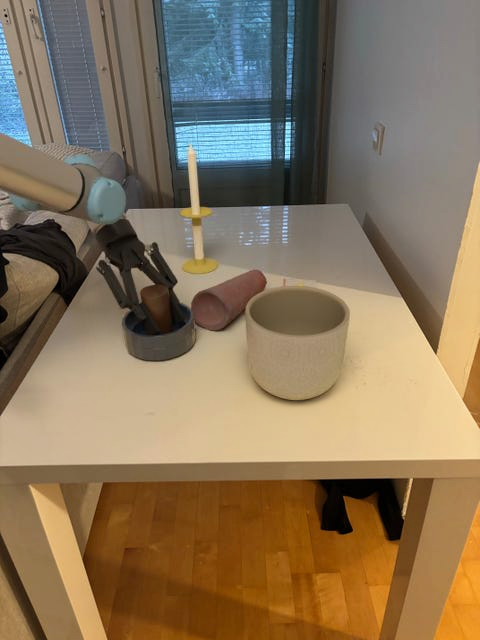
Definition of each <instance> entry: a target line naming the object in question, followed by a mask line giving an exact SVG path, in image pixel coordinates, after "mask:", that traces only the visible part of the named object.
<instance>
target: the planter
mask: <svg viewBox="0 0 480 640" xmlns="http://www.w3.org/2000/svg"><path fill="white" fill-rule="evenodd" d="M244 310H245V311H244V316H245V317H244V318H245V319H244V320H245V336H246V351H247V361H248V365H249V366H248V367H249V370H250V373H251V375H252V377H253V379H254V381H255V382H256V383H257V384H258V386H259V387H260V388H262V389H263V390H264V391H266V392H267V393H269V394H270V395H272V396H275V397H277V398H281V399H284V400H288V401H289V400H290V401H304V400H308V399H312V398H315V397H318V396H320V395H322V394H324V393H325V392H327V391H328V390H329V389H331V387H332V386H333V385H334V384H335V383H336V381H337V380H338V378H339V375H340V372H341V370H342V366H343V362H344V357H345V351H346V344H347V338H348V332H349V326H350V318H351V317H350V315H351V313H350V312H351V311H350V308H349V306H348V305H347V303H346V302H345V301H344V300H343V299H342V298H341V297H339V296H338V295H336V294H334V293H332V292H330V291H327V290H325V289H321V288H318V287H316V288H313V287H307V286H283V285H282V286H276V287H272V288H268V289H264V291H262V292H260V293H258V294H257V295H255V296H254V297H252V298H251V299H250V300H249V302H248V303H247V305H246V308H245V309H244Z"/></svg>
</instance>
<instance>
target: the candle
mask: <svg viewBox="0 0 480 640" xmlns="http://www.w3.org/2000/svg"><path fill="white" fill-rule="evenodd" d="M186 157H187V171H188V182H189V194H190V203H191V204H190V206H191V207H185V208H182V209H181V210H180V211H179V216H180V217H182V218H185V219H191V227H192V236H193V237H192V238H193V239H192V240H193V249H194V250H193V252H194V258H191V259H188V260H186V261H184V262H183V263H182V264H181V269H182V271H184V272H185V273H188V274H193V275H202V274H204V275H205V274H208V273H212V272H214V271H215V270H217V268H218V267H219V264H218V262H217V261H216V260H215V259H212V258H208V257H205V253H204V252H205V251H204V239H203V225H202V218H206V217H210V216H211V215H212V214H213V210H212V208H210V207H207V206H200V194H199V180H198V167H197V153H196V151H195V150H194V148H193V145H192V142H191V141H190V143H189V148H188V151H187V153H186Z"/></svg>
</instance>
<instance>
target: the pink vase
mask: <svg viewBox="0 0 480 640" xmlns="http://www.w3.org/2000/svg"><path fill="white" fill-rule="evenodd" d="M267 284H268V282H267V278H266V276H265V274H264V273H263V271H262V270H259V269H252V270H248V271H247V272H243V273H241V274H238V275H236V276H234V277H232V278H229V279H227V280H225V281H223V282H220V283H217V284H216V285H214V286H210V287H207V288H205V289H202V290H199V291H198V292H197V293H195V295H194V296H193V298H192V299H191V302H190V309H191V310H192V311H193V315H194V322H195V323H197V324H198V325H199V326H200V327H202V328H204V329H207V330H209V331H219V330H222V329H224V328H225V327H226V326H227V325H228V324H230V322H232V321H233V320H234V319H235V318H236V317H238V316H239V315H240V314H241V313H242V312H243V311H244V310H245V309H246V305H247V303H248V302H249V300H250V299H251V298H252V297H254V296H255V295H257V294H258V293H260V292H263V291H265V290H266V286H267Z"/></svg>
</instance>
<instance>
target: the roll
mask: <svg viewBox="0 0 480 640" xmlns="http://www.w3.org/2000/svg"><path fill="white" fill-rule="evenodd" d="M139 296H140V302H143V301H144V303H145V304H146V306H147V308H148V310H149V311H150V313H151V315H152V316H153V318H154V320H155V322H156V323H157V325H158V327H159V329H160V331H159V332H158V333H157V334H156V335H164V334H167V333H171V332H173V323H172V315H171V306H170V298H169V289H168V288H167V287H166V286H163V285H155V284H151V285H147V286H144V287H143V288H141V289H140V291H139ZM144 323H145V322H144ZM145 329H146V335H150V336H152V334H151V333H150V331H149V329H148V328H147V326H146V324H145Z"/></svg>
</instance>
